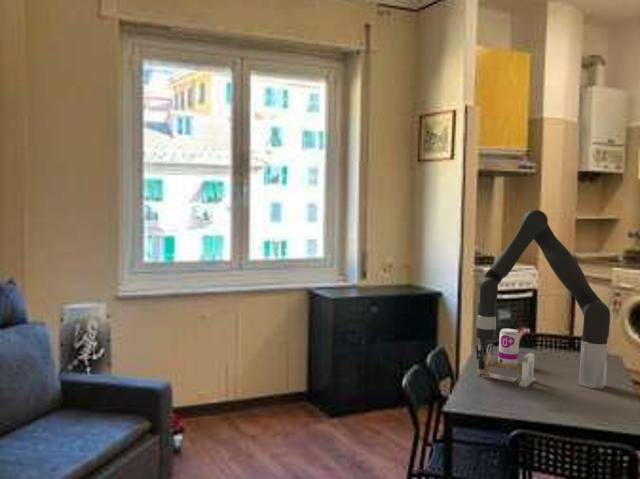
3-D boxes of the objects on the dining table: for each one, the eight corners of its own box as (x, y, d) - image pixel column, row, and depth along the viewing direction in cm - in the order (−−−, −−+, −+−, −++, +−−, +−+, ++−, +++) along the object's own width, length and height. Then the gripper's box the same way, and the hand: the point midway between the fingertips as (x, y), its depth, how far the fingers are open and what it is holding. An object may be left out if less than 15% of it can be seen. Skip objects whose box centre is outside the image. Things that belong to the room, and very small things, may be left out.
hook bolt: (522, 378, 253) (524, 356, 253) (519, 381, 250) (521, 358, 249) (480, 371, 263) (481, 349, 262) (477, 373, 260) (478, 351, 259)
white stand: (535, 380, 255) (536, 353, 254) (526, 387, 245) (528, 358, 244) (488, 371, 265) (489, 345, 264) (478, 378, 255) (479, 350, 254)
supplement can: (513, 367, 273) (515, 333, 272) (495, 364, 278) (497, 330, 277) (520, 364, 279) (522, 330, 278) (502, 360, 284) (504, 327, 283)
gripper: (489, 330, 251) (486, 373, 252) (500, 325, 263) (498, 365, 264) (470, 328, 255) (468, 369, 256) (483, 322, 267) (481, 362, 268)
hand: (483, 367), depth 260 cm, fingers open, 5 cm apart
